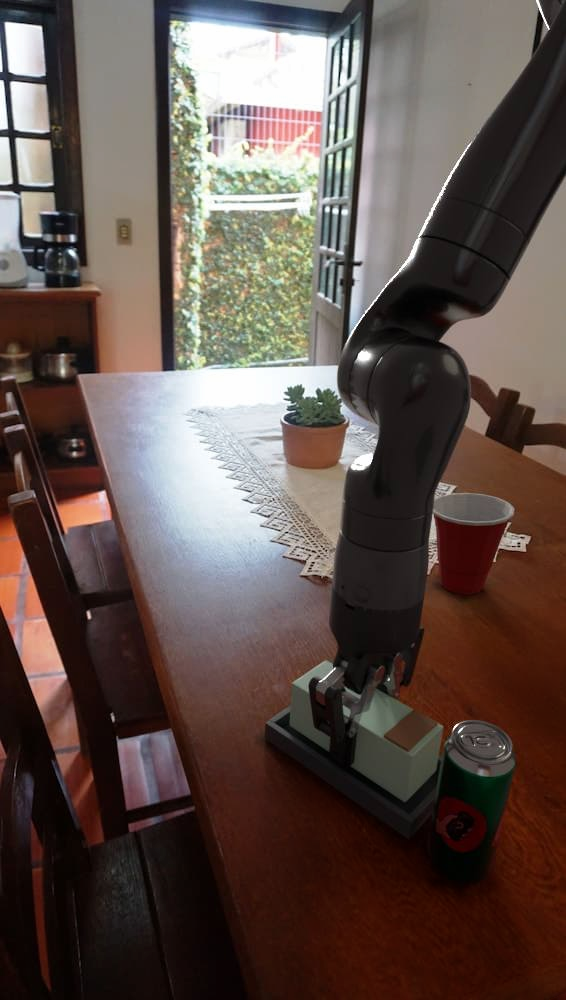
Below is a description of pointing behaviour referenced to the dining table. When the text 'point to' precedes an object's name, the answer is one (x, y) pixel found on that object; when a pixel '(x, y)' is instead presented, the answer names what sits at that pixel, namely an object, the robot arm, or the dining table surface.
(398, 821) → the tray
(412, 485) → the robot arm
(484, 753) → the soda can
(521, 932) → the dining table surface
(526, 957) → the dining table surface
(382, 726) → the pencil box
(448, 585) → the plastic cup
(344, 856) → the dining table surface
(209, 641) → the dining table surface
